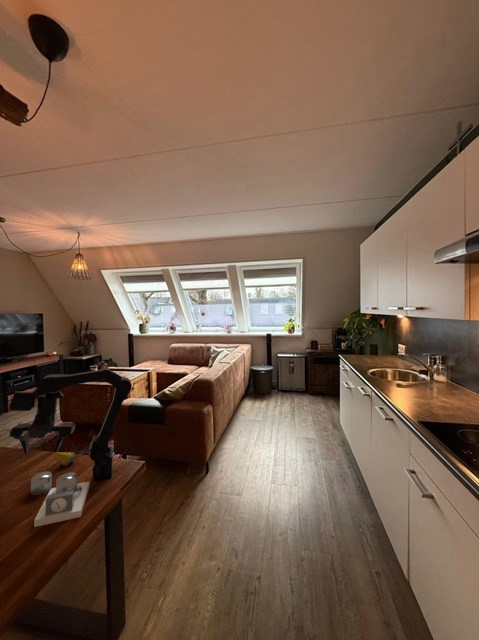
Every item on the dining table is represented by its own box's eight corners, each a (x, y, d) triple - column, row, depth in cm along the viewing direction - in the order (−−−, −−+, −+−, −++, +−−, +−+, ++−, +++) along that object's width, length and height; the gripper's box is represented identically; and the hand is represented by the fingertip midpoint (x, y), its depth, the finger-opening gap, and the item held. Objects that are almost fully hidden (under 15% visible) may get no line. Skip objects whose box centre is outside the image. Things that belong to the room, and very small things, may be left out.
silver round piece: (78, 485, 93) (78, 471, 93) (74, 495, 88) (75, 480, 88) (58, 488, 91) (59, 474, 91) (53, 499, 85) (53, 484, 86)
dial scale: (89, 486, 97) (89, 467, 97) (80, 516, 82) (80, 494, 82) (51, 494, 93) (51, 474, 93) (34, 527, 78) (34, 503, 78)
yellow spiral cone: (76, 466, 112) (57, 456, 106) (66, 469, 113) (47, 460, 107) (81, 453, 116) (62, 444, 110) (71, 457, 117) (53, 448, 111)
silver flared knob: (53, 483, 99) (53, 470, 99) (48, 493, 93) (48, 479, 93) (34, 486, 97) (34, 473, 97) (28, 496, 91) (28, 482, 91)
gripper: (3, 417, 85) (-3, 466, 85) (68, 416, 91) (63, 462, 90) (20, 407, 96) (14, 450, 95) (77, 407, 102) (73, 448, 101)
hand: (41, 453), depth 95 cm, fingers open, 9 cm apart
